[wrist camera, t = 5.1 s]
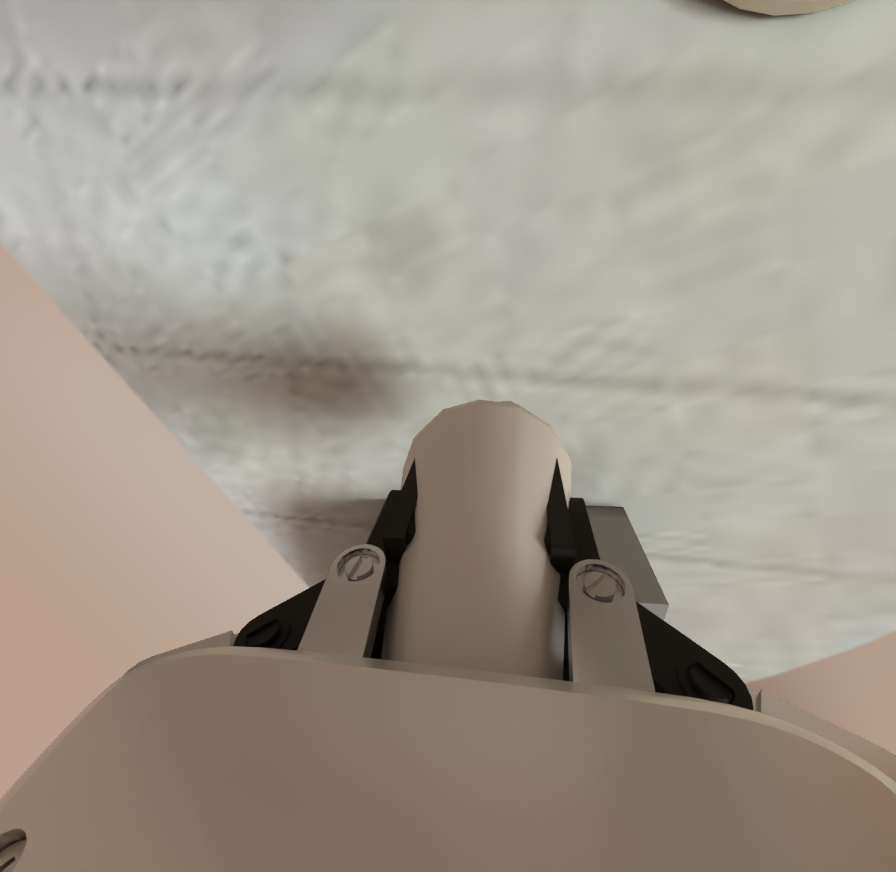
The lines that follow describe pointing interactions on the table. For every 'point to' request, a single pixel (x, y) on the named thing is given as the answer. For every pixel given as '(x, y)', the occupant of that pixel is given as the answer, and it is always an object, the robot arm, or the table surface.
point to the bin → (625, 555)
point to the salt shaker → (481, 546)
